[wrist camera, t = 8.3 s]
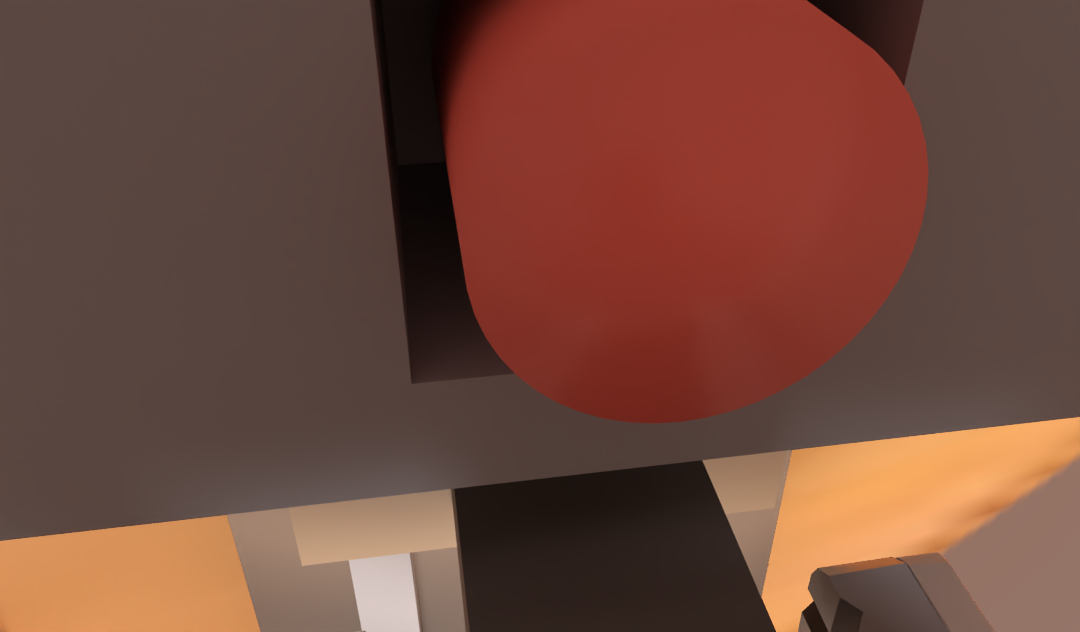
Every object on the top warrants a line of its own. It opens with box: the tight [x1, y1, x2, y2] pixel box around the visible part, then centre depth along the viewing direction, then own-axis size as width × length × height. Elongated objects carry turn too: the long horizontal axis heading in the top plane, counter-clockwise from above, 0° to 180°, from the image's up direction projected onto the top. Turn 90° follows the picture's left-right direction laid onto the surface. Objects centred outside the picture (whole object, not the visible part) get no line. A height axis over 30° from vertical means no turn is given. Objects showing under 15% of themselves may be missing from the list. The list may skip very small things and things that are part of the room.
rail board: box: [227, 450, 792, 632], centre depth 18 cm, size 23×12×3 cm, turn 0°
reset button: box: [431, 0, 928, 423], centre depth 7 cm, size 3×3×3 cm
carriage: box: [289, 451, 786, 632], centre depth 12 cm, size 5×8×9 cm, turn 90°
